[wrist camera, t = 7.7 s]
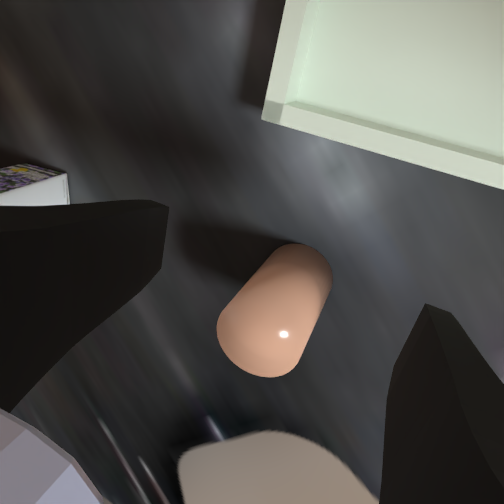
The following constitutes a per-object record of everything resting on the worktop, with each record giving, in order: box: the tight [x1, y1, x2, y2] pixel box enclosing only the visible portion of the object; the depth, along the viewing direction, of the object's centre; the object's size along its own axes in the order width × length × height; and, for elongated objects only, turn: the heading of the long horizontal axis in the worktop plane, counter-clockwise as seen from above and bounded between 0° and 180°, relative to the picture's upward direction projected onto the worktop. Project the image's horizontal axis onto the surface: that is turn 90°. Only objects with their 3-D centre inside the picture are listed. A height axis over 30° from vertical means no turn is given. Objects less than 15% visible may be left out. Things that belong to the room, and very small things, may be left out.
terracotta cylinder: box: [217, 243, 333, 377], centre depth 19 cm, size 4×4×6 cm
